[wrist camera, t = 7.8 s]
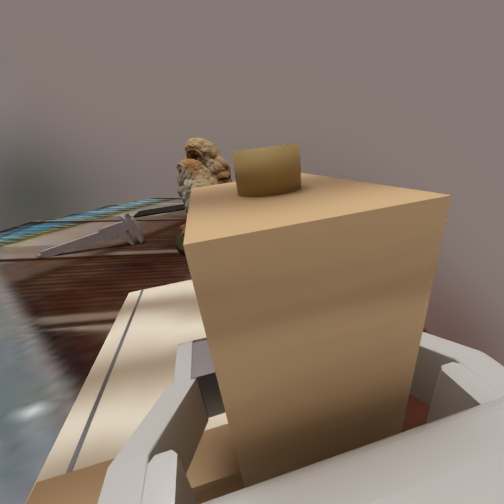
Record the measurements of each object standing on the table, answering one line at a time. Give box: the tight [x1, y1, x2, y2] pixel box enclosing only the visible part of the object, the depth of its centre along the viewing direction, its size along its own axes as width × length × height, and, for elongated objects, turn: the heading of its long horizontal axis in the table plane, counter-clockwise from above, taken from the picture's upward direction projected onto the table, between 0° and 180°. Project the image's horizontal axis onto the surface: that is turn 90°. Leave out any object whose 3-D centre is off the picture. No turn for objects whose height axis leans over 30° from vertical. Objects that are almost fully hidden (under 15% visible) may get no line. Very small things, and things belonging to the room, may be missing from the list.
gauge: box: [26, 143, 451, 504], centre depth 8 cm, size 6×12×14 cm, turn 102°
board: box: [25, 280, 228, 504], centre depth 16 cm, size 24×9×2 cm, turn 12°
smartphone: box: [134, 204, 185, 217], centre depth 74 cm, size 7×1×15 cm
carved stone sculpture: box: [176, 138, 232, 255], centre depth 41 cm, size 18×12×17 cm, turn 13°
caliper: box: [36, 213, 144, 259], centre depth 45 cm, size 20×1×6 cm, turn 96°
